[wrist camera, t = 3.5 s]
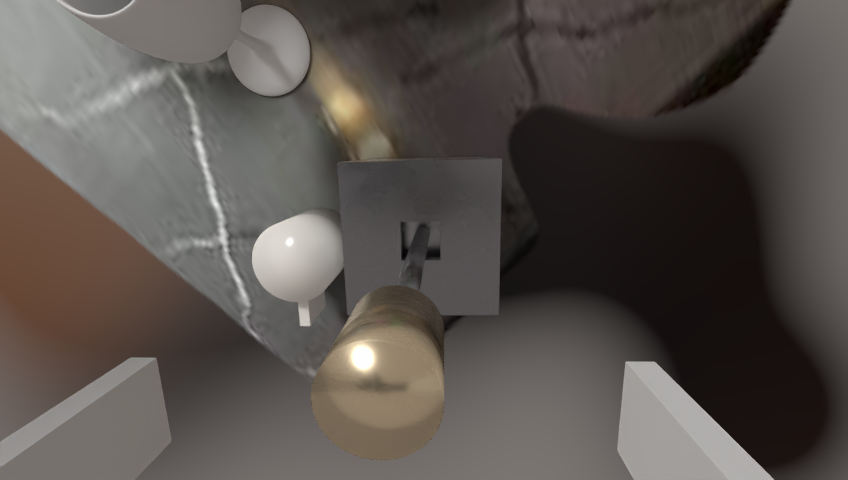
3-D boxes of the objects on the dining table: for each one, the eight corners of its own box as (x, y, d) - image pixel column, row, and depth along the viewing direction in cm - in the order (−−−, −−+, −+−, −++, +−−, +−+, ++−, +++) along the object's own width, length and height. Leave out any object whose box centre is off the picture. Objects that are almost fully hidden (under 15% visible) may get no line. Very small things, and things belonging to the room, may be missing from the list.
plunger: (370, 285, 34) (230, 539, 12) (364, 176, 32) (180, 234, 10) (478, 284, 34) (546, 549, 11) (479, 174, 32) (565, 229, 9)
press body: (376, 266, 45) (347, 315, 31) (371, 158, 42) (336, 162, 29) (482, 265, 44) (498, 315, 31) (483, 156, 41) (502, 158, 28)
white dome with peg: (295, 298, 46) (260, 332, 37) (286, 208, 44) (247, 222, 35) (359, 298, 46) (339, 332, 37) (354, 207, 43) (331, 221, 35)
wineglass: (282, -12, 39) (103, -194, 18) (326, 71, 40) (204, -13, 20) (211, 32, 40) (-31, -92, 20) (256, 111, 42) (75, 72, 21)
